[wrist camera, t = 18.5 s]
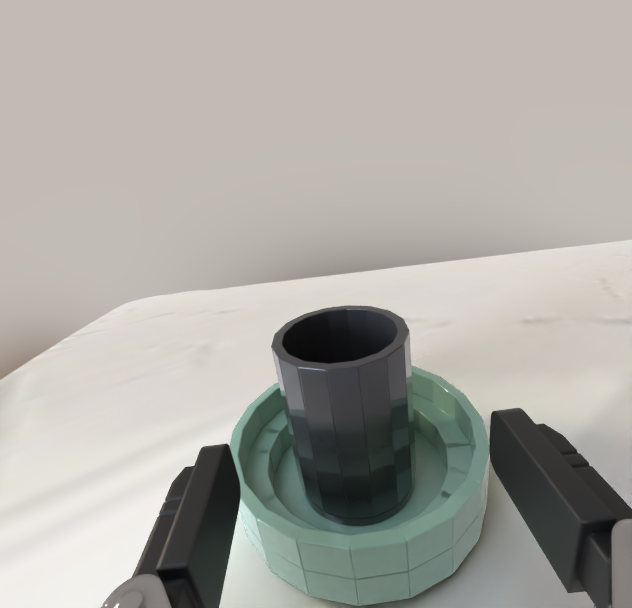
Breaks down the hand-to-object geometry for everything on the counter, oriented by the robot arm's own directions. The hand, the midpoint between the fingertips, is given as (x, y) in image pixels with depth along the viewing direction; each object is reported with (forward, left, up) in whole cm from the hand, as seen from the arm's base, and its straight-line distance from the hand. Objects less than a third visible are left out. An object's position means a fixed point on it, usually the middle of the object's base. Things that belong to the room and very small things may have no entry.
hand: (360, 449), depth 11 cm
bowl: (-2, -7, -9) cm, 11 cm away
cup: (-2, -6, -8) cm, 11 cm away
